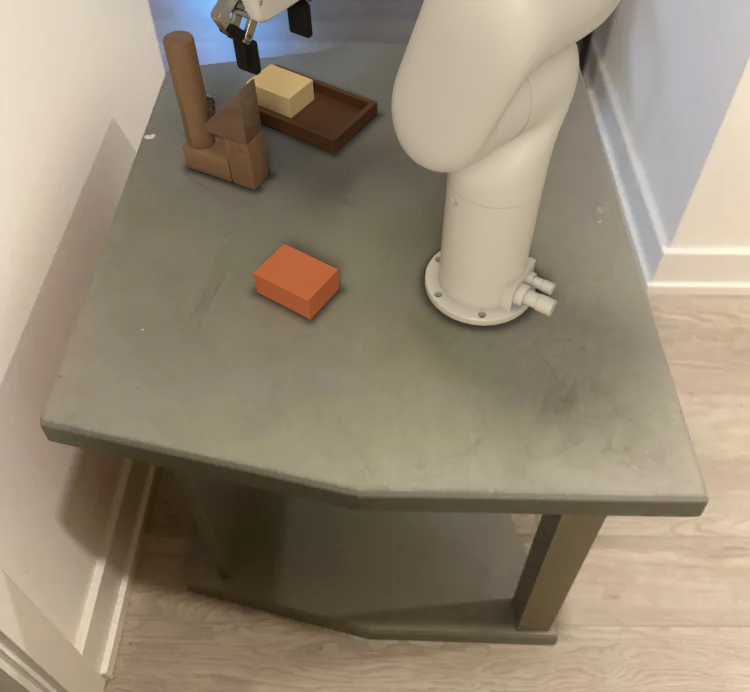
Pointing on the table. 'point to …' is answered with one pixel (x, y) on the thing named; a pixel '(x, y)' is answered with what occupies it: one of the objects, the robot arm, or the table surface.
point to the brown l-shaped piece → (216, 120)
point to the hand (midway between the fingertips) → (276, 52)
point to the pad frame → (324, 117)
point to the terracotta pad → (297, 281)
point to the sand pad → (283, 90)
